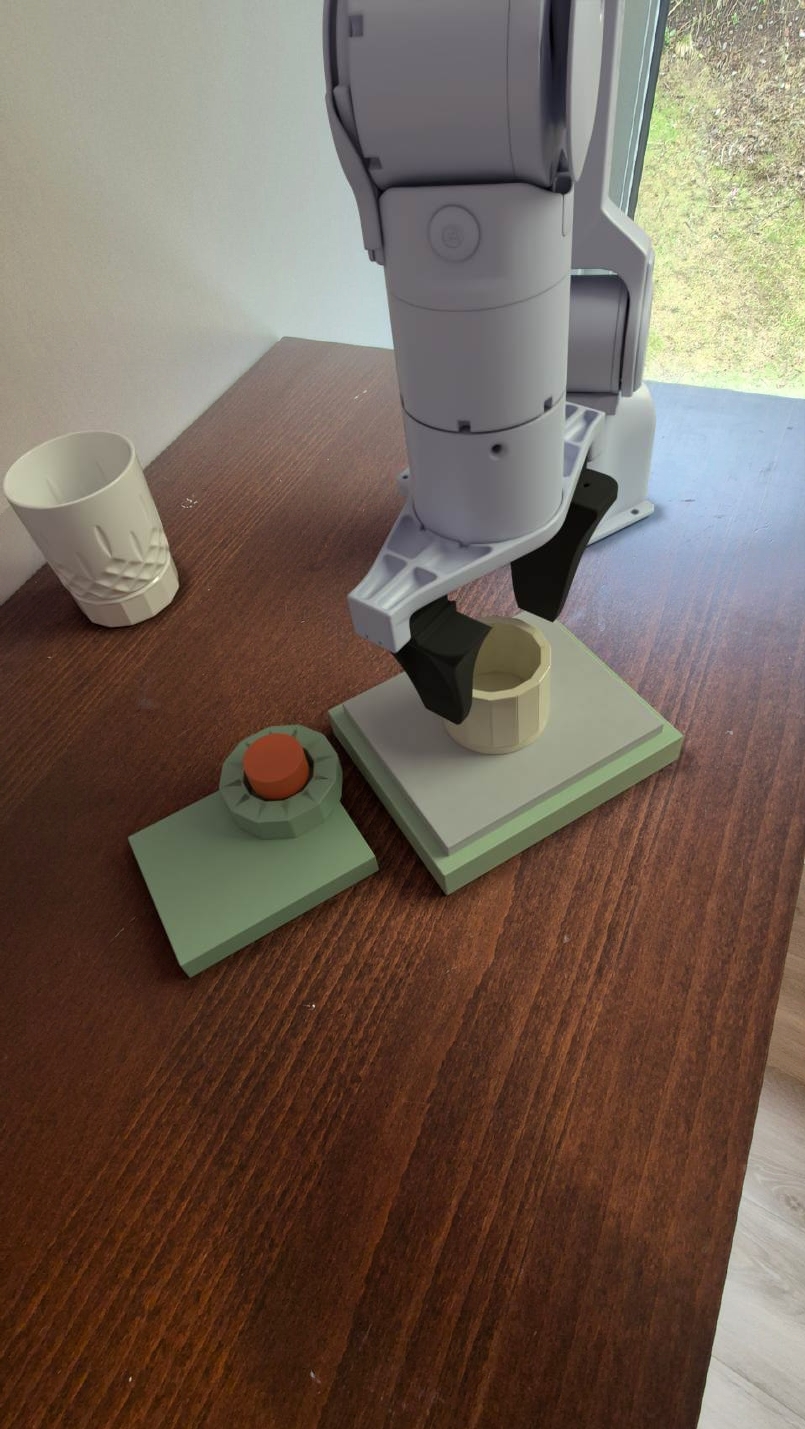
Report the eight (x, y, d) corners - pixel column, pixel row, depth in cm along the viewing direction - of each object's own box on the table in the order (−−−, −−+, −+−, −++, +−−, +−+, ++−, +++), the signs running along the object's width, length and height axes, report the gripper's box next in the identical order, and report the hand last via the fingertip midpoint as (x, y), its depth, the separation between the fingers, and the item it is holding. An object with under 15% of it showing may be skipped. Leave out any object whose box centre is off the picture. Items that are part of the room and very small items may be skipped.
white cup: (162, 638, 52) (99, 509, 45) (54, 631, 54) (-25, 506, 46) (204, 558, 57) (155, 429, 49) (104, 554, 59) (41, 429, 51)
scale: (538, 627, 49) (539, 592, 47) (678, 759, 42) (686, 725, 40) (333, 733, 46) (323, 700, 43) (446, 896, 38) (442, 867, 36)
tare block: (317, 742, 45) (305, 707, 43) (396, 860, 40) (388, 828, 38) (131, 837, 43) (109, 806, 40) (189, 978, 37) (167, 951, 35)
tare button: (294, 742, 42) (287, 723, 41) (319, 781, 40) (313, 763, 39) (241, 769, 41) (232, 750, 40) (264, 810, 40) (256, 792, 38)
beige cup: (489, 657, 44) (486, 600, 41) (572, 707, 41) (575, 649, 38) (420, 717, 42) (411, 661, 39) (502, 774, 39) (499, 719, 36)
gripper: (505, 282, 33) (510, 546, 44) (254, 463, 27) (330, 722, 37) (665, 315, 30) (629, 592, 40) (423, 531, 23) (455, 795, 34)
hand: (494, 659), depth 39 cm, fingers open, 7 cm apart
